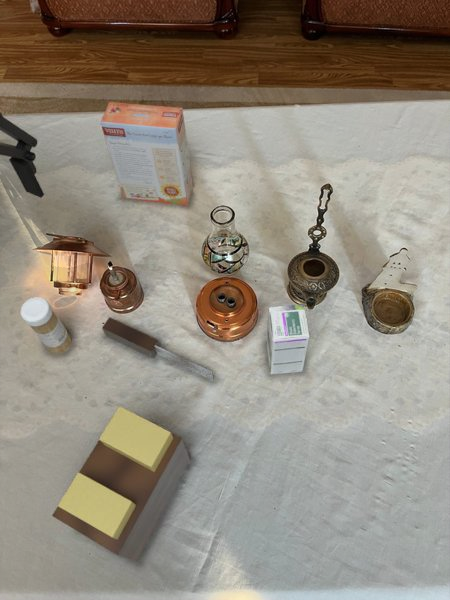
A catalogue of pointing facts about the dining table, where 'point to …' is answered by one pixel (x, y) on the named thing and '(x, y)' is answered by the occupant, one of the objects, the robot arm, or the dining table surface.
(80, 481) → the butter slice
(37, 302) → the sprinkles bottle
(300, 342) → the syrup box
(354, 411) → the dining table surface
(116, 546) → the butter stand
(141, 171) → the cracker box
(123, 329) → the knife
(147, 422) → the butter block
